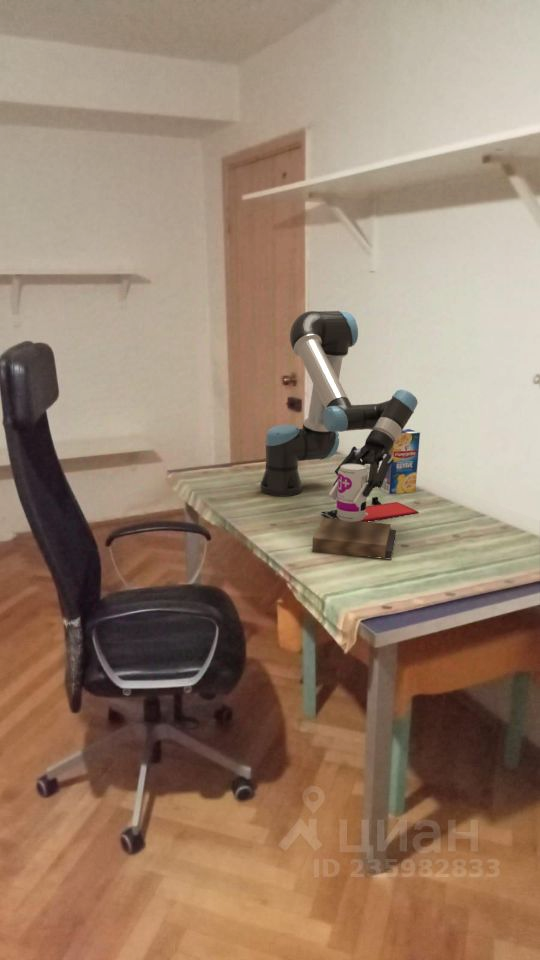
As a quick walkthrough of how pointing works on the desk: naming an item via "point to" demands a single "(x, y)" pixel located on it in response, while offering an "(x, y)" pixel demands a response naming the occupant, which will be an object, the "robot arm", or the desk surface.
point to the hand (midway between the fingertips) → (343, 500)
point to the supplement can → (350, 492)
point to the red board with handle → (380, 511)
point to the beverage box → (403, 464)
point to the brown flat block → (354, 538)
